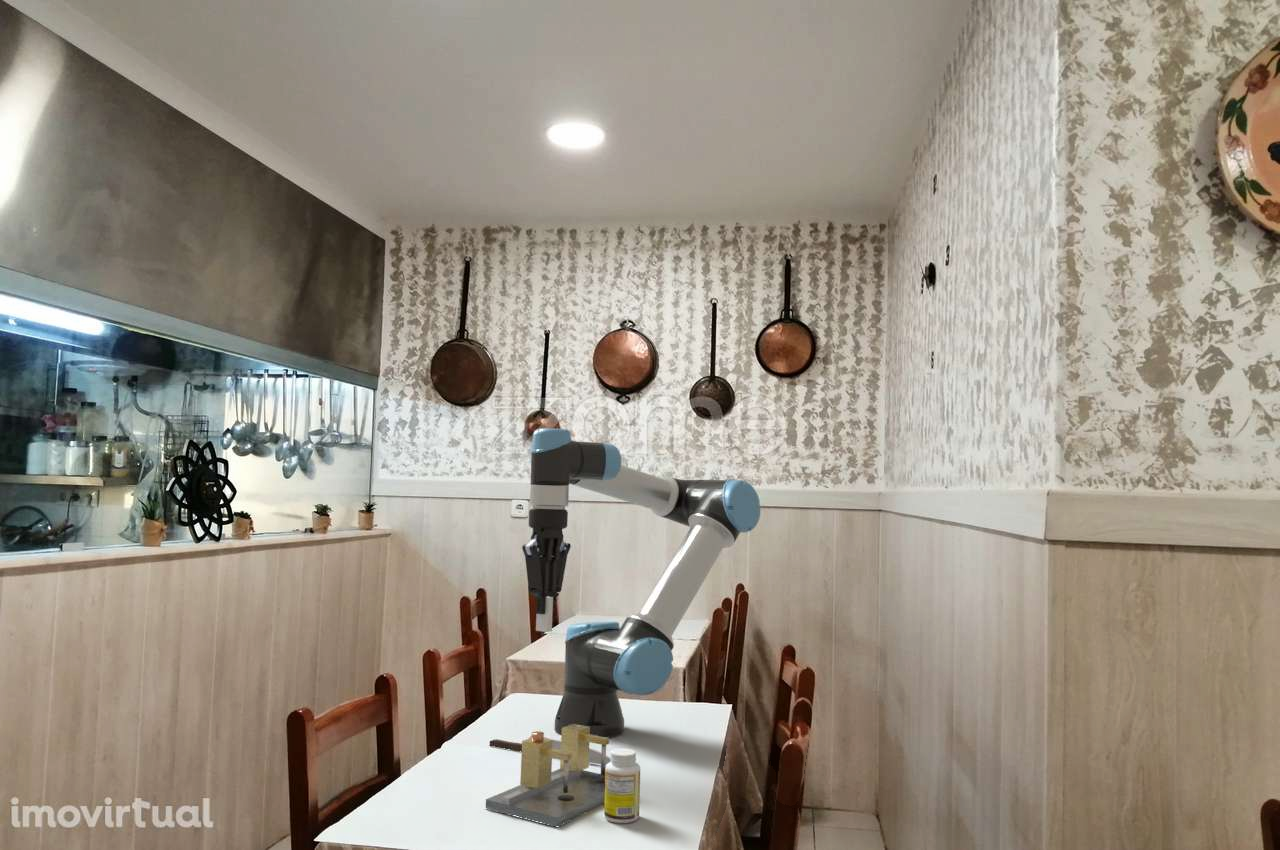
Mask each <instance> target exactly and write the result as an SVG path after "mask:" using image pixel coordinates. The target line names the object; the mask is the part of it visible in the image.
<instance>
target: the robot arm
mask: <svg viewBox="0 0 1280 850" xmlns="http://www.w3.org/2000/svg"><path fill="white" fill-rule="evenodd" d="M571 433H572V432H571V431H570V430H568V429H564V428H553V427H551V428H548V427H546V428H537V429H535V430H534V432H533V434H532V440H531V449H530V454H531V455H530V456H531V457H530V484H529V485H530V492H529V505H530V506H532V508H529V510H528V511H529V512H528V527H530V528H531V529H532V533H531V536H530V541H529V542H528V543H523V544H522V547H521V549H522V552H523V554H524V558H525V559H524V560H525V567H526V576H527V578H526V579H527V586H528V594H531V596H532V597H535V612H536V613H535V614H536V618H535V619H536V620H535V631H536V632H544V633H545V632H546V633H550V632H552V630H553V612H554V605H555V604H554V603H555V601H554V599H555V597H559V595H560V593H561V592H562V588H563V582H564V576H565V570H566V567H567V566H566V565H567V559H568V555H569V552H570V549H571V547H572V545H571V543H569V542H565V540H564V532H563V530H564V529H566V528H567V527H568V521H569V520H568V516H569V513H568V512H569V511H568V510H567V509H566V507H567V508H568V506H569V501H570V500H569V497H570V496H569V493H570V490H569V489H570V487H569V486H570V485H573V486H576V487H579V488H582V489H585V490H589V491H591V492H594V493H598V494H602V495H605V496H607V497H611V498H614V499H617V500H621V501H623V502H626V503H627V502H628V503H631V504H633V505H636V506H640V507H643V508H646V509H650V510H651V511H652V513H653V514H655V515H656V516H658V517H661V518H664V519H667V520H669V521H672V522H676V523H678V524H680V525H683V526H686V527H689V530H688V531H687V533H686V535H685V536H684V538H683V539H682V541H681V543H680V544H679V546H678V547H677V549H676V551H675V553H674V554H673V556H672V558H671V559H670V561H668V563H667V565H666V567H665V569H664V570H663V572H662V574H661V575H660V577H659V578H658V579H657V582H656V583H655V584H654V586H653V588H652V590H651V592H650V593H649V594H648V596H647V598H646V600H645V601H644V603H643V605H641V608H640V609H639V611H638V613H637V614H632V615H628V616H627V617H625V619H624V621H623V623H622V625H621V627H620V623H619V621H596V622H593V621H592V622H580V623H573V624H570V625H569V626H568V627H567V630H566V633H565V634H566V635H565V640H564V644H565V651H564V652H565V653H564V655H565V657H564V681H563V682H564V687H563V695H562V697H561V701H560V704H559V707H558V710H557V711H556V715H555V717H554V731H555V732H556V733H558V734H560V735H561V732H562V728H563V727H566V726H568V725H571V724H577V725H582V726H588V727H590V734H591V735H596V736H602V737H607V738H611V737H612V738H613V737H617V736H619V735H621V734H623V733H624V732H625V718H624V714H623V710H622V707H621V703H620V699H619V696H618V691H621V692H622V693H625V694H628V695H637V696H648V695H653V694H655V693H656V692H659V690H660V689H662V688H663V687H665V685H666V683H668V681H669V679H670V678H671V674H672V671H673V667H674V665H673V664H672V663H673V661H674V655H673V651H672V650H673V649H674V647H675V644H674V639H673V635H674V633H675V632H676V630H677V628H678V626H679V625H680V622H681V621H682V620H683V617H684V616H685V614H686V613H687V611H688V608H689V607H690V606H691V604H692V602H693V600H694V599H695V597H696V595H697V593H698V592H699V590H700V588H701V587H702V585H703V583H704V582H705V580H706V578H707V576H708V575H709V573H710V572H711V570H712V568H713V567H714V564H715V563H716V561H717V559H718V558H719V556H720V554H721V552H722V551H723V550H724V549H727V548H731V547H732V546H733V545H735V542H736V541H737V539H738V537H739V535H740V534H741V533H744V534H745V533H748V532H750V531H753V530H754V529H755V528H756V526H757V525H758V523H759V520H760V518H761V510H762V508H761V504H760V497H759V495H758V492H757V490H756V489H755V488H754V487H753V486H752V484H750V483H749V482H748V481H745V480H742V479H741V480H738V479H734V478H729V479H682V478H681V479H679V478H675V477H672V476H662V477H658V476H655V475H652V474H650V473H646V472H643V471H640V470H639V469H638V470H637V469H635V468H632V467H629V466H625V465H622V454H621V453H620V450H619V449H618V447H617V446H616V445H613V444H610V443H604V442H590V441H589V442H588V441H576V440H572V434H571Z"/></svg>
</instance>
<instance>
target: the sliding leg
mask: <svg viewBox="0 0 1280 850" xmlns="http://www.w3.org/2000/svg"><path fill="white" fill-rule="evenodd" d="M544 734H545V733H544V732H543V731H532V732H531V736H532V738H530V737H528V738H526V739H523V740H522V741H521V743H522V752H521V759H520V760H521V761H520V763H521V764H520V780H519V781H520V782H519V785H524V786H528V787H532V788H536V789H539V788H541V787H543V786H546V785H548V784H550V783H551V772H552V764H553V760H552V759H557V758H558V759H557V760H560V759H562V760H564V777H563V793H568V775H569V760H570V759H572V752H567V751H562V750H557V749H552V744H553V740H551V739H552V738H551V739H546V738H544V737H545V735H544ZM552 757H553V758H552Z"/></svg>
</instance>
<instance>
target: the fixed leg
mask: <svg viewBox="0 0 1280 850" xmlns="http://www.w3.org/2000/svg"><path fill="white" fill-rule="evenodd" d="M560 735H561V736H560V737H561V739H560V741H561V750H562V751H567V752H572V759H570V760H569V771H573V772H579V771H582V770H584V771H585V770H586V769H588V768H589V748H590V743H591V744H596V745H601V751H600V752H601V764H600V774H601V775H602V776H604V775H605V768H606V756H607V745H609V743H610V737H602V736H596V735H591V734H590V727H588V726H582V725H577V724H571V725H568V726H566V727H563V728H562V732H561V734H560ZM559 760H560V761H559V762H560V764H559V766H560V767H559V769H564V760H562V759H559Z"/></svg>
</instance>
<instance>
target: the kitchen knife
mask: <svg viewBox="0 0 1280 850" xmlns="http://www.w3.org/2000/svg"><path fill="white" fill-rule="evenodd" d="M529 738H532V735H531V736H530V737H529ZM544 738H546V739H551V740H553V744H552V749H557V750H561V739H560V740H559V739H555V738H549V737H547V736H544ZM489 746H495V747H500V748H505V749H504V750H506V749H510V750H509V751H511V750H515V751H514V752H516V751H521V752H520V753H522V742H521V743H520V742H515V741H514V742H513V741H507V740H501V739H497V738H496V739H495V738H494V739H492V740H489V745H488V747H489ZM495 747H494V748H495ZM500 748H499V749H500ZM601 752H602V751H599V750H598V749H597V750H596V749H594V748H591V747H589V763H591V764H596V765H601ZM610 757H611V756H608V755H606V765H607V764H608V763H609V762H611V759H610Z"/></svg>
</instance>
